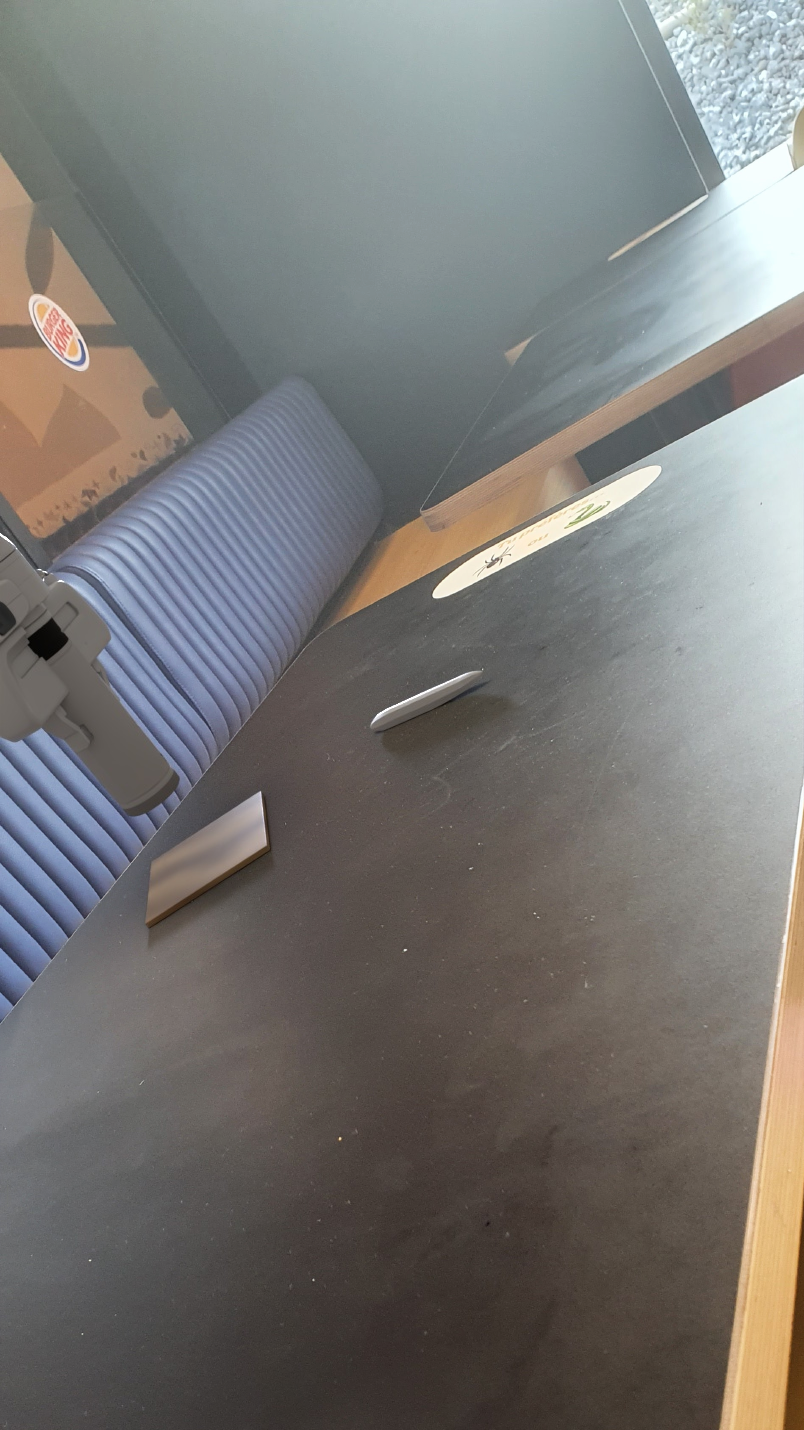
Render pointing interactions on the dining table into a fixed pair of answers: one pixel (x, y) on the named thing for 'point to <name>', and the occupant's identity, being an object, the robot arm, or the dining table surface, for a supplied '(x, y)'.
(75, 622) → the robot arm
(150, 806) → the travel mug
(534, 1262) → the dining table surface
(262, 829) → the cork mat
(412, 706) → the pen
